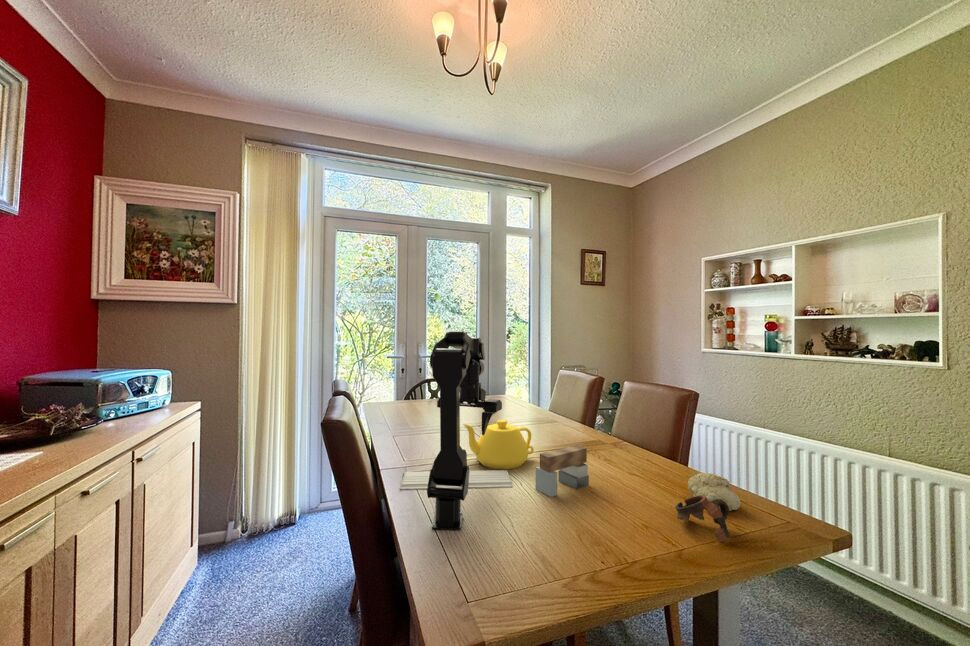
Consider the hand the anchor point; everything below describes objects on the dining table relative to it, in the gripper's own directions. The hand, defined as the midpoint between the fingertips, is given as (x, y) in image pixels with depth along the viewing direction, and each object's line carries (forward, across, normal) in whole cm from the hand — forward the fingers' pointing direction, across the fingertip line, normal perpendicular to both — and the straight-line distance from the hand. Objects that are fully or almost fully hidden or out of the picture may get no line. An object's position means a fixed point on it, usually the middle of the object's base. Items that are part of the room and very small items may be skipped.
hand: (468, 433), depth 108 cm
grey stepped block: (+14, -29, -10) cm, 34 cm away
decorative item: (+14, -64, -11) cm, 67 cm away
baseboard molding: (+15, +3, +2) cm, 15 cm away
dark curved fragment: (+14, -60, +4) cm, 62 cm away
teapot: (+14, -3, -19) cm, 23 cm away
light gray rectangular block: (+14, -23, -1) cm, 27 cm away
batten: (+8, -27, -6) cm, 29 cm away
